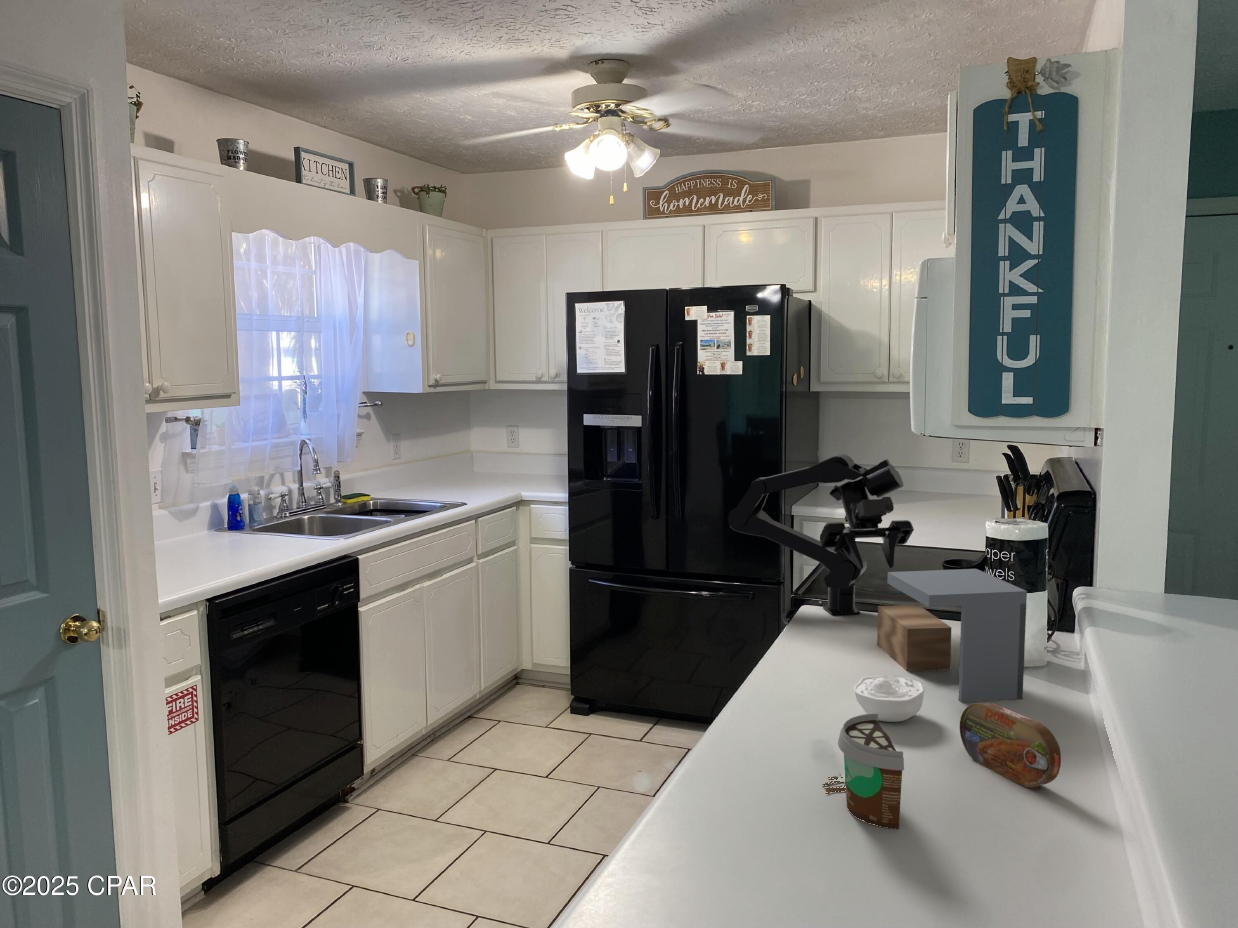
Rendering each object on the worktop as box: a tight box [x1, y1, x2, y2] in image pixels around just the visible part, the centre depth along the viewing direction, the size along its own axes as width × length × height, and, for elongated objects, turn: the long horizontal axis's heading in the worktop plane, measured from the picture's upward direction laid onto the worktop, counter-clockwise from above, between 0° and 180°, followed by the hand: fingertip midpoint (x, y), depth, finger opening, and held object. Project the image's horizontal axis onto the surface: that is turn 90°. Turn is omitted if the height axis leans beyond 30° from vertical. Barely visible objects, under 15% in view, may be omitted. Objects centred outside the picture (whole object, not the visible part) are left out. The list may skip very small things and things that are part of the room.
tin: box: [959, 702, 1062, 788], centre depth 118 cm, size 15×3×8 cm, turn 23°
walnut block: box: [876, 604, 952, 672], centre depth 165 cm, size 15×8×8 cm, turn 3°
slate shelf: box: [886, 568, 1028, 703], centre depth 150 cm, size 16×16×18 cm
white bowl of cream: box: [853, 674, 925, 723], centre depth 137 cm, size 10×12×7 cm
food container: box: [837, 713, 905, 830], centre depth 109 cm, size 12×6×10 cm, turn 178°
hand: (876, 567), depth 181 cm, fingers open, 6 cm apart
